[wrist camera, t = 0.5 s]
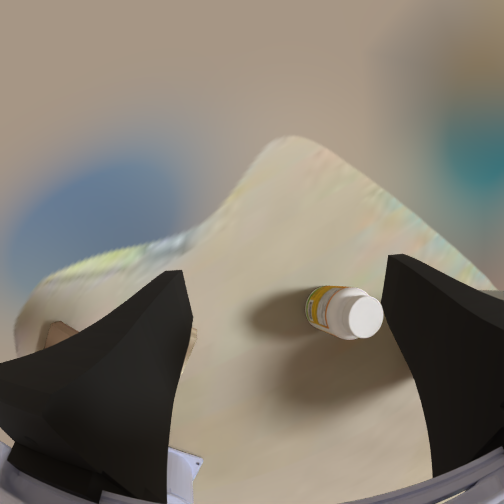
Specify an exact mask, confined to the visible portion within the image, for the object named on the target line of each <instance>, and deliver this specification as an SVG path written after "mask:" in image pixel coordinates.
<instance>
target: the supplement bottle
mask: <svg viewBox="0 0 504 504" xmlns="http://www.w3.org/2000/svg"><path fill="white" fill-rule="evenodd" d="M305 313H306V317H307V319H308V321H309V322H310V324H311V325H312V326H314V327H315V328H317V329H319V330H322V331H324V332H327V333H329V334H331V335H334V336H336V337H339V338H342V339H345V340H353V339H357V338H368V337H371V336H372V335H374V334H375V333H376V332H377V331H378V330H379V328H380V327H381V324H382V321H383V309H382V306H381V304H380V302H379V301H378V300H377V299H376V298H374V297H371V296H369V295H368V294H367V293H366V292H365V291H364V290H362V289H359V288H355V287H343V286H322V287H319V288H317V289H315V290H314V291H313V292H312V293H311V294H310V295H309V297H308V299H307V302H306V305H305Z"/></svg>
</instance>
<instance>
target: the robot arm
mask: <svg viewBox="0 0 504 504" xmlns="http://www.w3.org/2000/svg"><path fill="white" fill-rule="evenodd" d="M381 305H382V308H383V311H384V314H385V317H386V320H387V322H388V325H389V327H390V329H391V331H392V333H393V335H394V337H395V339H396V342H397V344H398V346H399V348H400V350H401V352H402V354H403V356H404V358H405V360H406V362H407V364H408V366H409V368H410V370H411V373H412V375H413V378H414V380H415V383H416V386H417V390H418V393H419V396H420V400H421V403H422V407H423V411H424V416H425V420H426V425H427V430H428V436H429V442H430V449H431V459H432V473H433V478H432V479H429V480H427V481H424V482H421V483H418V484H415V485H412V486H409V487H406V488H403V489H399V490H396V491H392V492H389V493H385V494H381V495H377V496H373V497H369V498H365V499H360V500H355V501H350V502H345V503H339V504H436V503H438V502H441V501H443V500H445V499H448V498H450V497H452V496H454V495H457V494H459V493H461V492H463V491H465V490H466V491H465V492H464V493H462V494H460V495H458V496H457V497H455V498H453V499H451V500H449V501H447V502H445V503H443V504H504V300H502V299H499V298H496V297H493V296H491V295H488V294H486V293H483V292H481V291H479V290H476V289H474V288H472V287H470V286H468V285H466V284H464V283H462V282H459V281H457V280H455V279H454V278H452V277H450V276H448V275H446V274H444V273H442V272H440V271H438V270H436V269H434V268H433V267H431V266H429V265H427V264H425V263H423V262H421V261H419V260H417V259H415V258H412V257H410V256H408V255H405V254H396V255H388V261H387V268H386V275H385V281H384V287H383V293H382V299H381ZM192 322H193V315H192V311H191V306H190V302H189V298H188V294H187V290H186V285H185V281H184V276H183V272H182V270H173V271H165V272H163V273H162V274H160V275H159V276H157V277H156V278H155V279H153V280H152V281H151V282H150V283H148V284H147V285H146V286H145V287H143V288H142V289H141V290H140V291H138V292H137V293H136V294H134V295H133V296H132V297H131V298H129V299H128V300H127V301H125V302H124V303H123V304H121V305H120V306H119V307H117V308H116V309H115V310H113V311H112V312H111V313H109V314H108V315H106V316H105V317H103V318H102V319H100V320H99V321H97V322H96V323H94V324H92V325H91V326H89V327H87V328H86V329H84V330H82V331H81V332H79V333H77V334H75V335H73V336H71V337H69V338H67V339H65V340H63V341H61V342H59V343H57V344H55V345H53V346H50V347H48V348H45V349H43V350H40V351H38V352H35V353H33V354H30V355H27V356H24V357H21V358H17V359H14V360H10V361H7V362H3V363H0V427H1V428H2V429H3V430H4V432H6V433H7V434H8V435H9V436H10V437H11V438H12V439H13V440H14V441H15V443H14V445H13V447H12V448H10V447H9V446H8V445H6V444H5V443H3V442H1V441H0V504H194V502H193V480H194V478H195V476H196V474H197V473H198V471H199V469H200V467H201V465H202V463H203V459H202V458H201V457H198V456H195V455H191V454H188V453H185V452H182V451H179V450H176V449H173V448H170V447H168V445H169V434H170V424H171V417H172V409H173V402H174V397H175V393H176V389H177V385H178V382H179V378H180V374H181V371H182V367H183V364H184V360H185V357H186V353H187V350H188V346H189V342H190V337H191V330H192ZM197 462H198V463H199V464H197Z"/></svg>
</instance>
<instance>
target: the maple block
mask: <svg viewBox="0 0 504 504" xmlns="http://www.w3.org/2000/svg"><path fill="white" fill-rule="evenodd" d="M196 340H197V329H194V328H192V330H191V337H190V342H189V346H188V350H187V353H186V357H185V360H184V364H183V367H182V371H181V374H182V373H183V371H184V368H185V366H186V364H187V361H188V359H189V356H190V354H191V352H192V349H193V347H194V345H195V342H196Z"/></svg>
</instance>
